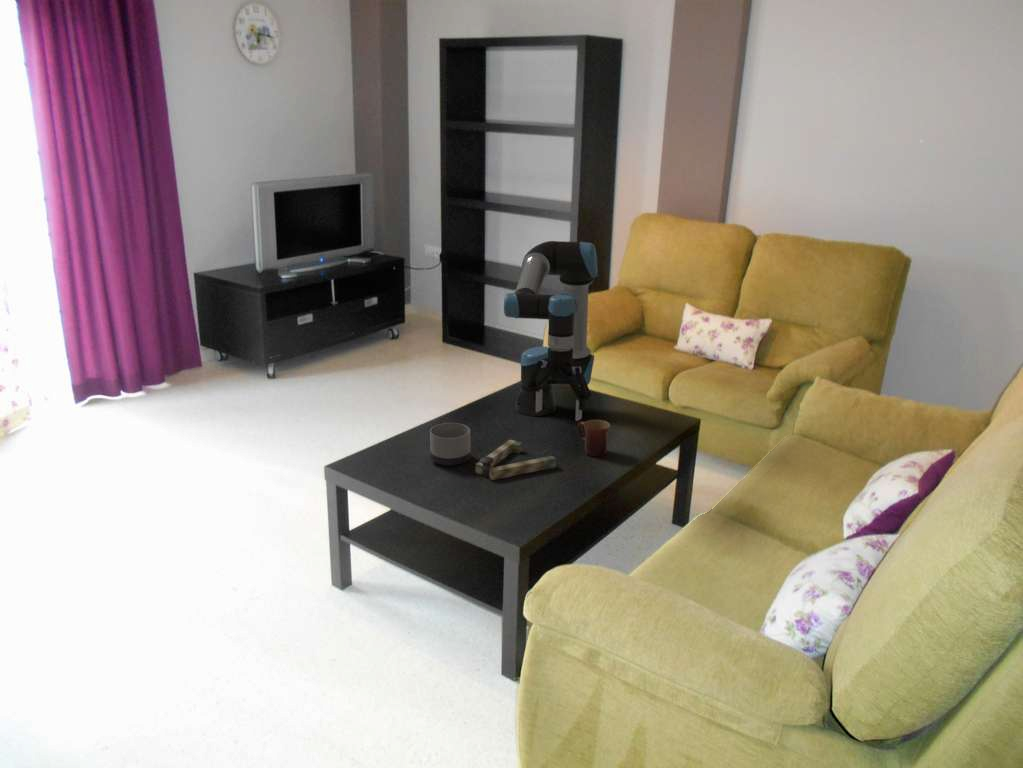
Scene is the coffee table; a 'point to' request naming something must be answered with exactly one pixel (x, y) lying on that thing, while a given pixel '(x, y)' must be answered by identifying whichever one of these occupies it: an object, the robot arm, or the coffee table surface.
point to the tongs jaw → (522, 467)
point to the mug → (595, 436)
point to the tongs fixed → (497, 456)
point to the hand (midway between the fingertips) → (558, 415)
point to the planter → (450, 443)
